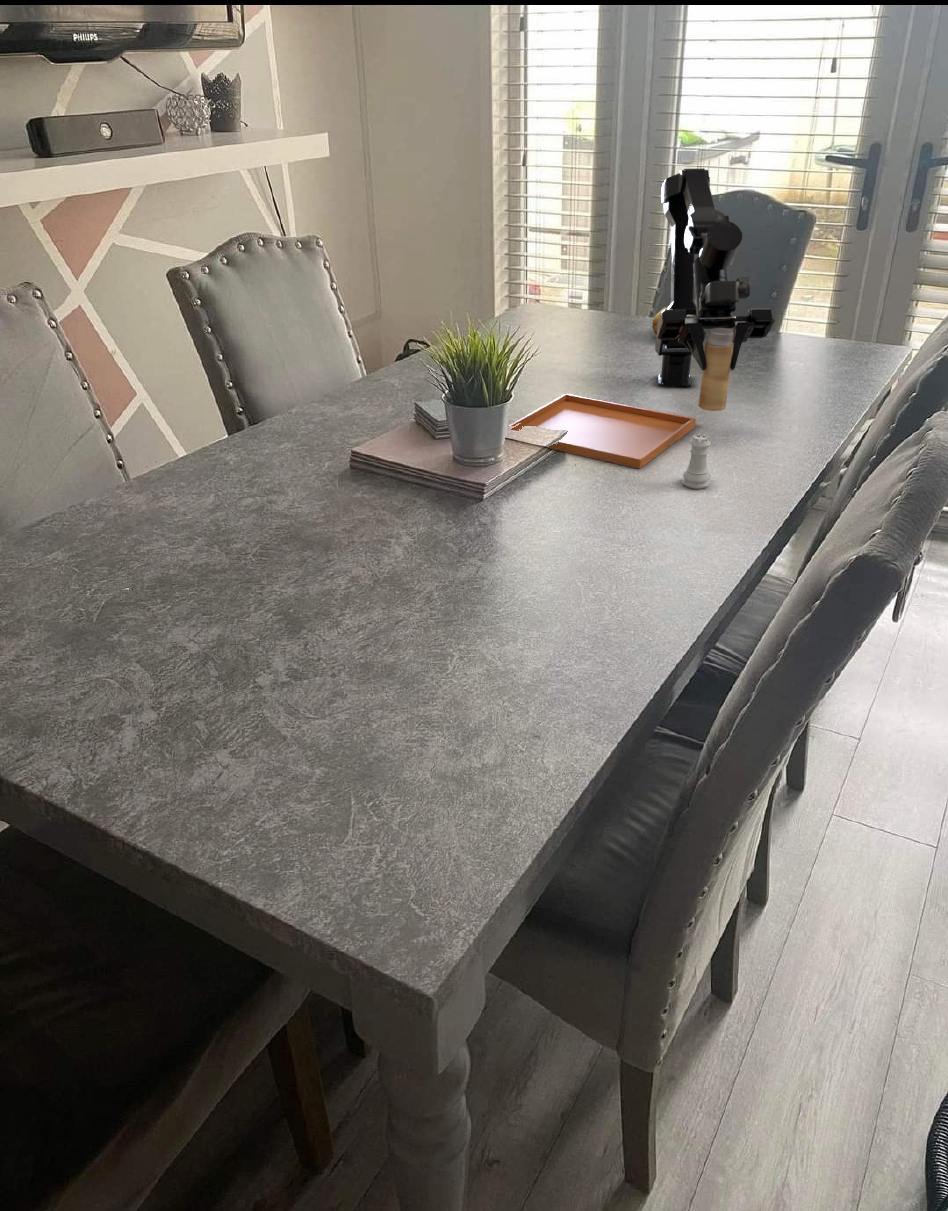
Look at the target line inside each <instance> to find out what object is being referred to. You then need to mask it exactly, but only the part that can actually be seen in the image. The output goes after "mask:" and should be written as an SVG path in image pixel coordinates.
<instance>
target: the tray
mask: <svg viewBox="0 0 948 1211" xmlns="http://www.w3.org/2000/svg"><path fill="white" fill-rule="evenodd" d="M696 421H697V418H696V417H690V416H685V415H680V414H675V413H669V412H666V411H665V412H664V411H660V410H659V411H658V410H655V409H654V410H653V409H648V408H644V407H638V406H633V405H627V404H622V403H617V402H611V401H607V400H601V399H596V398H590V397H586V396H580V395H575V394H569V393H563V394H562V395H560V396H558V397H556V398H555V399H552V400H551V401H549V402H548V403H546V404H544V405H542V406H540V407H539V408H537V409H535V410H533V411H532V412H530V413H528V414H526V415H525V416H522V417H521V418H519V419H517V420H516V421H514V422H512V423H510V424H509V426H515V425H516V424H518V423H521V424H519V425H518V426H516V427H514V428H512V429H511V430H513V431H519V429H520V430H521V429H522V426H523V427H524V426H536V427H541V428H546V429H551V430H567V431H568V432H567V434H566V435H565V436H564V437H563V438H562V439H561V440H559V442H558V444H557V445H556V444H553V445H551V446H549V447H548V448H547V449H550V450H554V451H560V452H563V453H569V454H572V455H577V456H581V457H586V458H592V459H593V460H594V459H595V460H600V461H604V462H609V463H612V464H617V465H621V466H627V467H630V468H635V469H639V470H640V469H641V468H643V467H645V466H646V465H648V464H649V462H651V461H652V460H653V459H655V458H656V457H658V456H659V455H660V454H661V453H663V452H664V451H665V450H667V449H668V448H669V447H671V446H672V445H674V444H675V443H676V442H677V441H679V440H680V439H681V438H682V437H684V436H685V435H686V434H688V433H689V432H690V431H691V430H694V428H696Z"/></svg>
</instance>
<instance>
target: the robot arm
mask: <svg viewBox="0 0 948 1211" xmlns="http://www.w3.org/2000/svg"><path fill="white" fill-rule="evenodd" d="M660 200H661V204H663V214H664V216H665V219H666V220H667V222H668V223H669V226H670V227H671V254H670V255H671V256H670V257H671V258H670V259H671V262H670V266H671V267H670V304H669V306H667V307H668V309H665V310H664V311H663V312H662V313H661V316H660V319H659V322H658V325H657V335H656V336H655V338H654V340H655V342H654V343H655V344H654V350H655V352H656V354H657V355H658V356H660V357H661V356H662V359H661V360H662V361H661V371H660V372H661V373H660V374H659V375H658V382H657V383H658V386H659V387H678V388H679V387H682V388H691V387H692V376H691V375H690V374H691V363H692V357H693V359H695V361H696V363H697V366H698V367H699V368H700V370H701V372H702V371H704V370H705V368H706V364H705V354H704V352H705V347H704V341H705V338H706V335H707V331H706V330H710V329H713V328H726V329H730V330H732V331H733V339H732V342H733V343H734V346H733V354H732V362H731V370H730V371H734V370H735V368H736V365H737V362H738V359H739V358H738V357H739V354H740V350H741V347H742V344H743V343H746V342H748V341H749V339H764V338H767V336H768V334H769V333H770V331H771V329H772V327H773V325H774V324H775V321H776V318H775V312H774V310H773V309H772V308H771V307H749V309H748V311H747V312H746V314H745V315H742V316H739V315H737V316H736V315H732V313H734V312H735V311H736V310H737V303H740V300H746V299H747V298H749V297H750V296H751V279H750V276H740V277H738V278H737V279H736V280H729V279H730V278H729V268H730V267H732V265H733V262H734V260H735V257H736V255H737V252H738V250H739V248H740V246H741V244H742V241H743V231H741V229H740V227H739V226H738V225H737V224H736V223H734V222H732V221H730V217H729V215H726V214H725V213H724V212H722V211H720V210H718V209H716V205H715V202H714V198H713V194H712V190H711V177H710V171H709V170H708V169H706V168H701V167H700V168H684V169H681V170H679V172H678V173H676V174H674V175H671V176H669V177H667V178H666V179H665V180H664V182H663V183H662V186H661V194H660ZM695 255H699V256H697V257H696V258H695ZM694 295H695V299H694ZM693 300H695V303H694V301H693Z"/></svg>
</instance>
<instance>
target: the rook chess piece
mask: <svg viewBox="0 0 948 1211" xmlns="http://www.w3.org/2000/svg"><path fill="white" fill-rule="evenodd" d="M689 444H690V445H691V449H690V450H689V452H690V459H689V463H688V465H687V467H686V468H685V471H683V474H682V477H683V478H682V479H681V482H682V484H683V485H684V487H685V488H687V489H688V488H689V489H693V490H702V489H706V488H707V487H708V486H710V484H711V481H710V479H711V474H710V473H709V469H708V464H707V456H708V454H709V451H708V448H709V447H710V446H711V444H712V442H711V441H710V436H709V435H707V434H705V433H704V434H702V436H701V433H696V434H693V435H692V438H691V439H690V440H689Z"/></svg>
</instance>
